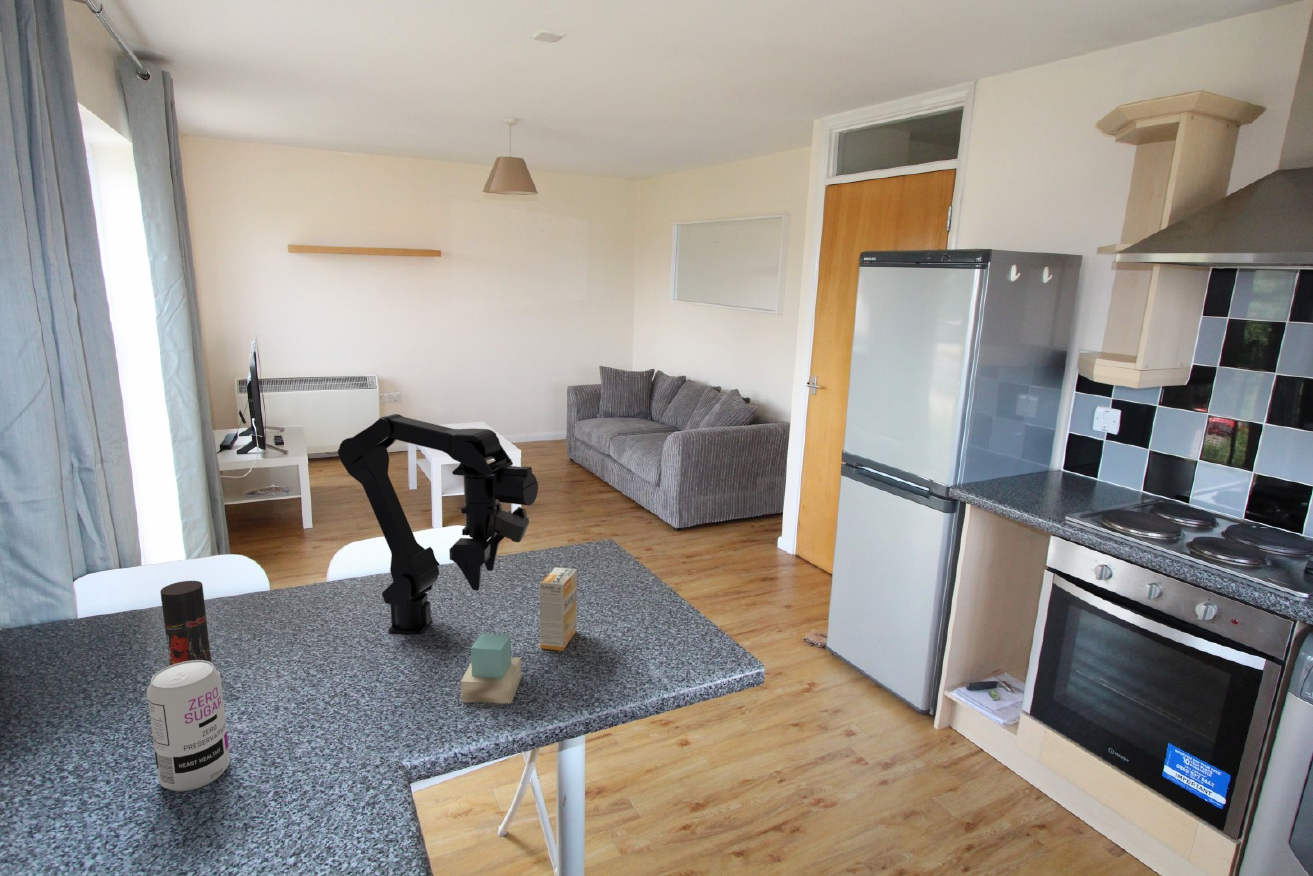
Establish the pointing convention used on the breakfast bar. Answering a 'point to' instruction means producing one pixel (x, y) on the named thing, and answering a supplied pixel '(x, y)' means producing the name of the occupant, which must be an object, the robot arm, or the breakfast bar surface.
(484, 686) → the beech block
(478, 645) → the teal cube
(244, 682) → the breakfast bar surface
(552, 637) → the supplement box
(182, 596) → the deodorant
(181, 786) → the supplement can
